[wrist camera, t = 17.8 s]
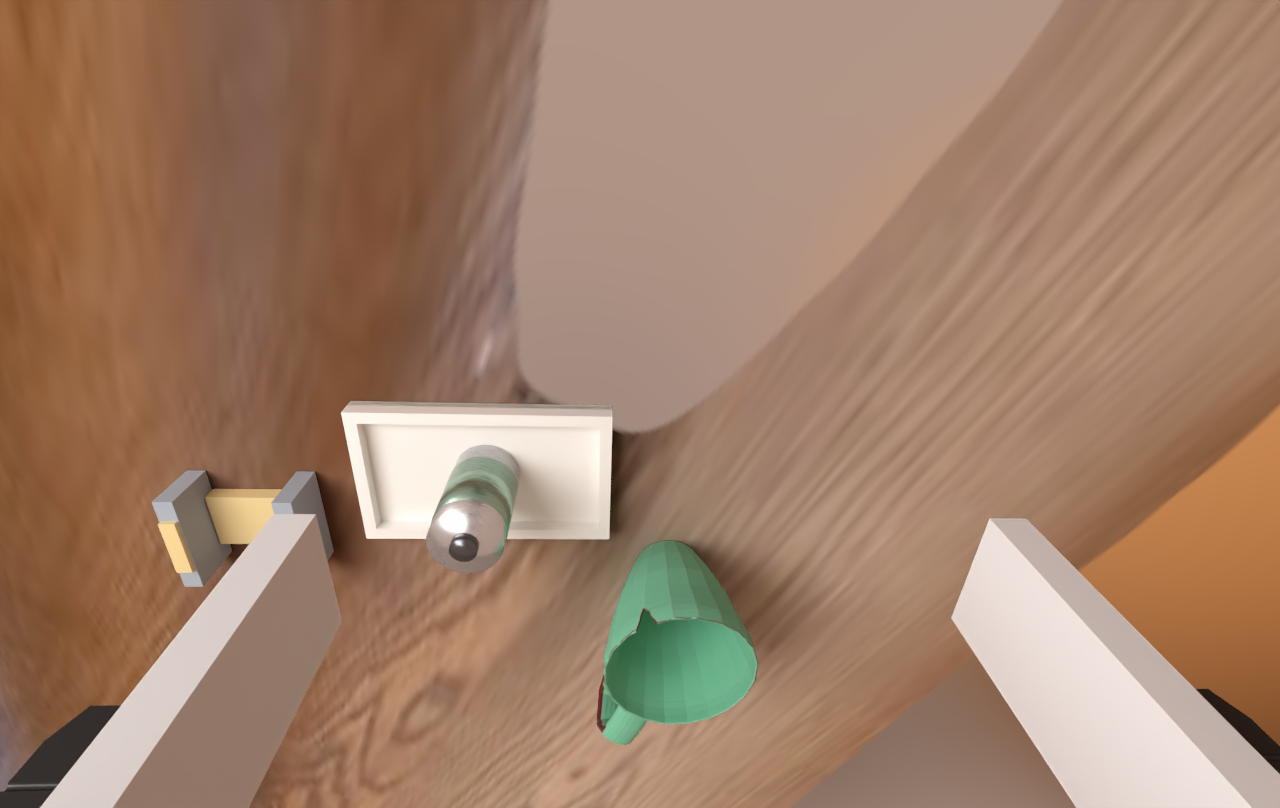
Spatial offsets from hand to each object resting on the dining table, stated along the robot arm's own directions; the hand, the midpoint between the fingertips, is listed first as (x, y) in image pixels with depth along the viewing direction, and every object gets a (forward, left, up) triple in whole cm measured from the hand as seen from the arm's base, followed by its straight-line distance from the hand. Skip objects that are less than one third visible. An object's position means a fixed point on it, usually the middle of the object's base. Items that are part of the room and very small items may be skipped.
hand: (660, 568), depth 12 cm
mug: (+26, +3, -27) cm, 37 cm away
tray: (+15, -9, -27) cm, 32 cm away
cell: (+15, -9, -26) cm, 31 cm away
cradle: (+19, -25, -27) cm, 41 cm away
